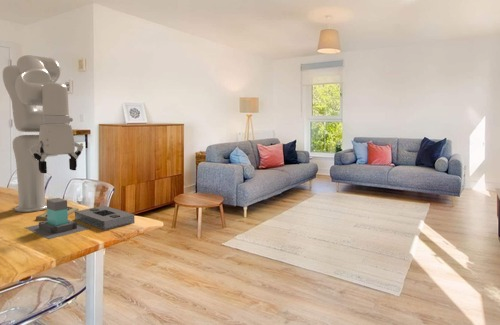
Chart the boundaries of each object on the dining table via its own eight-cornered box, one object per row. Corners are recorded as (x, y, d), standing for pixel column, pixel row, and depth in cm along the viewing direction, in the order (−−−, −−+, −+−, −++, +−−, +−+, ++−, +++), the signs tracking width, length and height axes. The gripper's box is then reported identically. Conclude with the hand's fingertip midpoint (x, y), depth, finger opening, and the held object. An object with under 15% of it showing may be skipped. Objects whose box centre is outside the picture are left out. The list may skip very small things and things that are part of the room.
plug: (47, 227, 118) (46, 199, 116) (59, 225, 121) (58, 197, 120) (56, 231, 114) (54, 202, 113) (68, 228, 117) (67, 200, 116)
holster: (24, 230, 117) (24, 222, 117) (65, 221, 129) (65, 213, 128) (48, 242, 107) (48, 233, 106) (91, 231, 118) (91, 222, 118)
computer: (56, 224, 126) (56, 215, 126) (35, 223, 126) (34, 215, 126) (79, 213, 142) (78, 205, 141) (60, 212, 142) (59, 204, 141)
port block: (75, 221, 128) (74, 211, 128) (104, 215, 138) (104, 205, 138) (104, 232, 117) (104, 221, 116) (134, 224, 127) (134, 213, 126)
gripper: (76, 121, 122) (77, 168, 124) (22, 120, 108) (25, 173, 110) (87, 121, 118) (89, 169, 120) (33, 120, 104) (36, 175, 106)
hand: (58, 171), depth 115 cm, fingers open, 9 cm apart
